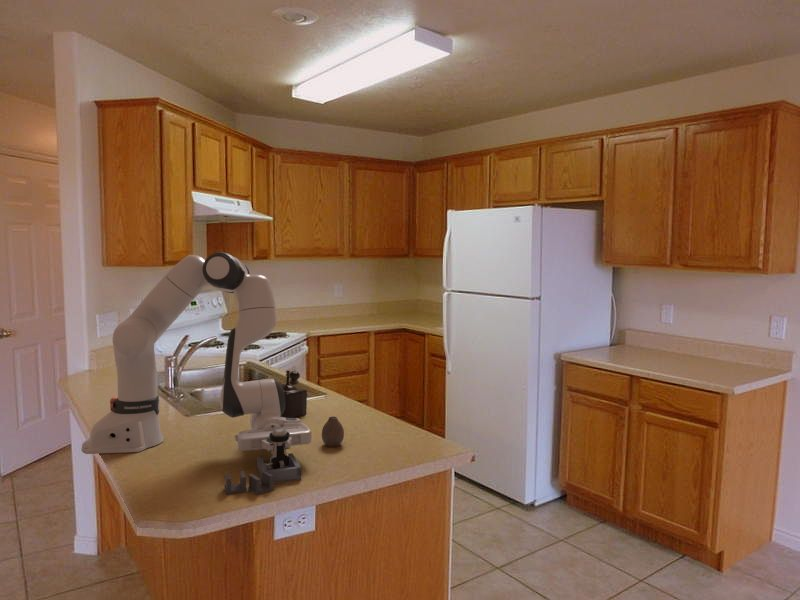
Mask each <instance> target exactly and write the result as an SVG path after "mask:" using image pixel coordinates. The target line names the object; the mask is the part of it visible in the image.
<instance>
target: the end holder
mask: <svg viewBox="0 0 800 600" xmlns="http://www.w3.org/2000/svg"><path fill="white" fill-rule="evenodd" d="M287 456H289V466H284V467H282V468H277V469H273V468H268V469H267V468H266V467H269V466H270V465H266V464H267V463H265V461H264V460H263V459H264V458H263V457H262V456H257V457H256V469H257V472H258V474H259V478H260V480H262V472H263V471H267V472H268V473H270V474H272V475H273V484H278V483H286V482H294V481H300V480H302V466H301V465H300V463H299V462H298V460H297V458H296V456H295V454H294V453H288V455H287Z"/></svg>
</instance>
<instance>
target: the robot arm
mask: <svg viewBox="0 0 800 600" xmlns="http://www.w3.org/2000/svg"><path fill="white" fill-rule="evenodd" d="M211 286H212V287H213V288H215V289H217V290H219V291H222V292H225V293H229V294H234V295H235V296H236V298H237V305H238V306H237V307H238V320H237V323H236V325H235V327H233V328H232V329H230V332H229V334H228V338H227V343H226V344H227V345H226V352H225V362H224V369H223V370H224V373H223V381H222V387H221V392H220V395H219V404H220V405H219V406H220V408H221V412H222V413H224V414H225V415H226V416H228V417H230V418H232V419H233V418H238V417H242V416H244V415H245V416H246V415H250V427H251V429H247V430H246V429H245V430H242V431H239V432H238V434H236V435H235V436H234V437H233V438H234V440H235V441H236V442H237V450H238V451H241V452H248V451H256V450H267V452H273V451H274V448H273V447H274V445H273V442H272V441H271V440H270V436H269V434H270V433H272V432H273V430H274V429H279V428H280V429H286V432H289V434H290V435H289V439H288V440H287V441H286V442H284V445H285V446H284V448H285V449H286V450H290V449H292V447H293V446H302V445H309V444H311V443H312V439H313V438H312V431H311V429H310V427H308V426H307V424H305V423H303V422H302V420H301V419H300V418H299V417H296V418H284V417H280V416H281V415H282V414H283V412H284V410H285V393H284V390H283V387H282V385H283V384H281V383H280V381H278V380H277V379H275V378H266V379H265V378H264V379H257V380H250V381H239V380H238V378H239V377H238V376H239V367H240V357H241V354H242V352H243V350H244V349H246V348H248V346H250V345H252V344H254V343H256V342H258V341H259V342H260V341H261V340H262V339H264V338H266V337H267V336H269V335H270V334H271V333H272V332H273V331H274V329H275V327H276V325H277V312H276V310H277V309H276V301H275V295H274V292H273V291H274V290H273V287H272V284H271V282H270V279H269V278H267V277H266V276H265V275H263V274H250V271H249V268H248V267H247V265H246V264H245V263H244V262H242V261H241V260H240V259H239V258H238V257H236V256H233V255H232V254H230V253H227V252H222V251H221V252H215V253H212V254H210V255H209V256H207V257H206V258H204V257H202V256H200V255H197V254H189V255H187V256H185V257H184V258H182V259H181V260H180V261H178V262H177V263H176V264H175V265H174V266H173V267H171V269H170V270H169V271H167V273H165V275H163V277H162V278H161V280H160V281H159V282H158V283H157V284H156V285H155V286H154V287H153V288H152V289H151V290H150V291H149V292H148V294H146V296H145V297H144V299H143V300H142V301H141V302H140V303H139V305H138V306H137V307H135V310H134V311H133V312H131V314H130V315H129V316H128V317H127V318H126V319H125V320H124V321H122V322H121V323H119V324H118V325H117V326H116V327H115V329H114V330H113V334H112V345H113V346H112V347H113V355H114V362H115V367H116V373H117V375H116V376H117V397H116V396H113V397H111V398H110V400H109V403H110V408H109V409H110V411H109V412H108V413H106V415H104V416H103V417H101V418H100V419H99V420H98V421H96V422H95V423H94V424H93V426H92V428H91V431H90V434H89V438H87V439H86V440H84V441H83V442H82V445H81V452H82V453H83V454H85V455H95V454H99V455H100V454H119V453H121V454H122V453H140V452H142V451H144V450H145V449H148V448H151V447H156V446H157V445H159V444H162V442H163V441H164V440H165V439H164V436H163V432H162V428H161V425H160V418H159V417H160V416H159V413H160V397H159V395H158V370H157V363H156V355H155V354H156V353H155V343H156V342H157V341H158V340H159V339H160V338H161V337H162V335H163V334H164V333H165V332H166V331H167V330H168V329H169V327H171V325H172V324H173V323H174V322H175V321H176V320H177V319H178V318H179V317H180V315H182V313H184V311H185V310H186V309H187V308H188V307H189V305H191V303H192V302H193V301H194V300H195V298H196V297H198V295H199V294H200V293H201V291H203V290H204V289H206V288H207V287H211Z"/></svg>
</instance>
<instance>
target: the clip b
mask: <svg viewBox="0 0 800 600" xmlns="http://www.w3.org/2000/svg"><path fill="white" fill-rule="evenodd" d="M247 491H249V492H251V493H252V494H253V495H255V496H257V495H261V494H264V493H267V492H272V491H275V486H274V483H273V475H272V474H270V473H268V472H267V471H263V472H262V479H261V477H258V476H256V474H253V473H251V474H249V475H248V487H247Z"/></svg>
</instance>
